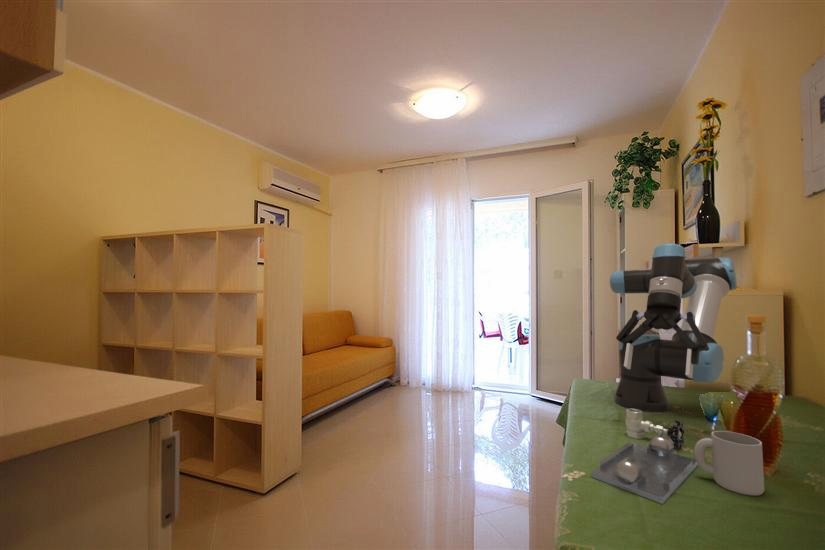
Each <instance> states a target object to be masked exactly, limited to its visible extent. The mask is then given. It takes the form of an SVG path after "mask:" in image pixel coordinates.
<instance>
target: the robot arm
mask: <svg viewBox="0 0 825 550" xmlns="http://www.w3.org/2000/svg"><path fill="white" fill-rule="evenodd" d="M686 258H687V255H686V249H685V247H683V246H682V245H681V244H677V243H672V242H671V243H663V244H659V245H657V246H656V247H655V248H654V249H653V254H652V257H651V259H652V262H651V267H650V268H649V267H648V268H641V269H640V268H639V269H631V270H630V269H629V270H617V271H613V272H612V273H611V274H610V278H609V286H610V289H611V292H613V293H615V294H623V295H624V294H648V296H647V303H646V310H645V312H642V311H641V312H640V311H638V310H633V311H632V314H631V317H630V318H629V320H628V321H627V323H626V324H625V325H624V326H623V328H622V329H621V331H619V333H618V335H616V338H615V339H616V340H617V341H618V342H619V348H618V351H619V354H618V355H619V372H620V373H619V377H620V378H619V382H618V386H617V388H616V390H615V393H614V394H615V395H614V401H615V403H616V404H617V405H619V406H622V407H625V408H627V409H629V408H632V409H638V410H641V411H646V412H665V411H668V410H669V409H670V402H669V398H668V396H667V394H666V392H665V389H664V387H663V384H662V377H666V378H671V379H673V378H674V379H678V380H679V379H680V380H686V381H693V382H696V383H698V382H699V383H710V384H711V383H713V382H716V381H717V380H719V378H720V376H721V374H722V372H723V368H724V364H723V363H724V360H725V359H724V358H725V357H724V356H725V355H724V350H723V348H722V346H721V345H720V344H718V342H717V341H716V339H715V338H714V337H715V333H716V332H715V331H716V328H717V327H716V326H717V322H718V318H719V313H720V308H721V303H722V299H723V298H724V297H726V296H727V295H728V294H729V292H730V291H732V290H737V288H738V281H737V275H736V270H735V269H736V268H735V264H734V261H733V259H731V258H730V257H718V256H717V257H712V258H711V257H710V258H709V257H708V258H695V259H694V258H693V259H686ZM685 298H688V301H687V305H686V309H685V312H684V313H681V306H682V299H685ZM643 318H644V319H645V320H643V321H642V322H641V324H640V325H639V326H638V327H637V328H636V326H637V325H638V324H639V322H640V320H642V319H643ZM680 321H682V322H681V323H682V324H681V326H679V325H678V324H679V322H680ZM652 329H655V330H661V329H662V330H666V331H670V329H671V330H672V329H673V330H674V331H675V333H673V335H672V337H671V339H661V335H659V334H657V333H656V334H645V333H647V332H648V331H651V330H652Z"/></svg>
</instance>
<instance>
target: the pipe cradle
mask: <svg viewBox="0 0 825 550" xmlns="http://www.w3.org/2000/svg"><path fill="white" fill-rule="evenodd" d="M673 443H674V442H673V441H672V440H671V439H670V436H668V435H667V434H659V433H658V434H657V435H656V436H654V437H653V438H652V439H650V440H649V442H648V445H645V444H641V443H637V442H633V443H631V442H627V443H625V444H623V445H622V446H621V447H620V448H617V449H616V450H614V451H613V452H612V453H610V454H609V455H607V456H605V457H603V458H602V459H601V460H599V466H598V467H596V468H595V469H593V470H592V471H591V475H590V476H591V478H593V479H595V480H598V481H601V482H603V483H606V484H608V485H611V486H613V487H616V488H619V489H622V490H623V491H627V492H629V493H632V494H634V495H637V496H640V497H643V498H646V499H648V500H650V501H653V502H655V503H659V504H660V505H664V503H665V502H666V501H667V500H668V499H669V497H671V496H672V495H673V494H674V492H675V491H676V490H677V489H678V488H679V487H680V486H681V484H682V483H684V481H685V480H686V479H687V478H688V477H689V476H690V475H691V474H692V473H693V471H694V470H695V469H696V468H697V466H698V467H699V465H698V464H697V462H696V459H695V458H690V457H687V456H684V455H681V454H680V455H679V454H678V453H677V448H675V447H674V444H673Z"/></svg>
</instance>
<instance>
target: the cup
mask: <svg viewBox="0 0 825 550" xmlns="http://www.w3.org/2000/svg"><path fill="white" fill-rule="evenodd" d="M708 447H709V448H710V447H711V457H712V458H711V459H712V465H711V464H709V463H708V462H707V460H706V457H705V455H706V454H705V453H706V449H707V448H708ZM693 449H694V450H693V451H694V453H693V454H694V459H695V460H696V462H697V464H698V467H699V468H700V469H702V471H704V472H706V473H708V474H711V475H712V477H713V479H714V481H715V482H716V484H717V485H718V486H720V487H722V488H723V489H725V490H727V491H730V492H734V493H736V494H740V495H745V496H751V497H757V496H762V495H763V494H764V492H765V475H764V474H765V473H764V472H765V471H764V458H763V456H764V454H763V442H762V441H761V440H759V439H758V438H756V437H752V436H751V435H746V434H743V433H740V432H739V433H738V432H734V431H727V430H715V431H712V432H711V438H709V437H705V438H704V437H703V438H701V439H699V440H698V441H697V442H696V443H695V445H694V448H693Z"/></svg>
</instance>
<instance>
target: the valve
mask: <svg viewBox="0 0 825 550" xmlns="http://www.w3.org/2000/svg"><path fill="white" fill-rule="evenodd" d="M625 410H626V413H625V415H626V417H625V421H624V423H625V427H626V435H627V437H628V438H632V439H636V440H640V439H642V440H643V439H644V432H645V433H646V434H650V435H651V434H652V433H655V432H656V434H658V435H659V434H663V435H665V434H666V436H668V437H669V438H670V439H671V440H672V441H673V444H674V447H673V448H675V449H679V450H682V449H683V445H682V444H685V439H684V435H685V434H686V431H685V429H684V427H685V423H684V422H682V421H681V420H680V419H675V420H674V422H675V424H673V425H672V427H668V428H665V427H664V426H663V425H662V426H661V425H658V424H657V425H655V424H653V422H652V421H651V420H647V419H646V420H643V419H644V417H643V416H644V415H643V410H638V409H632V408H626V409H625ZM643 431H644V432H643Z"/></svg>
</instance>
